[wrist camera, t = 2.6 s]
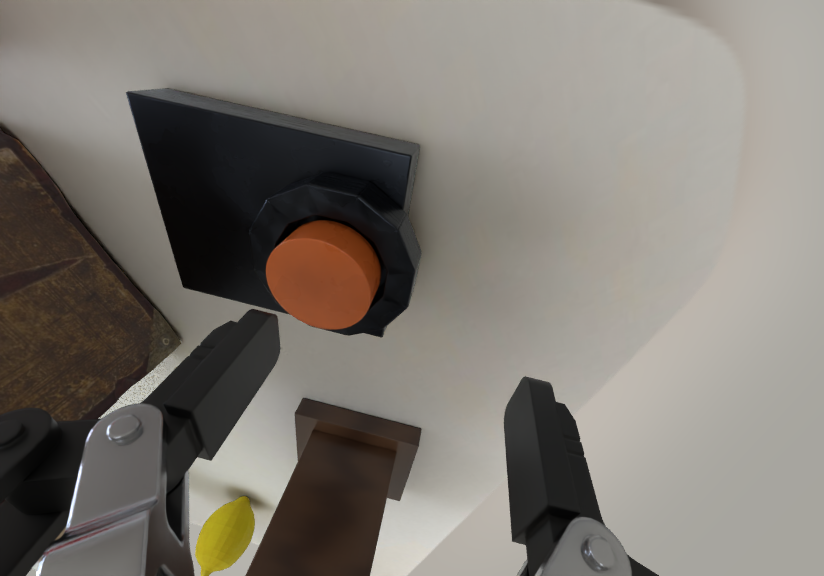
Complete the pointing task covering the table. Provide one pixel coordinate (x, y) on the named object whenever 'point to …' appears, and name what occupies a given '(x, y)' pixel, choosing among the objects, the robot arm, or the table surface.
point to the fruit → (225, 536)
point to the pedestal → (336, 493)
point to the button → (324, 274)
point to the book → (65, 304)
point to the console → (273, 194)
